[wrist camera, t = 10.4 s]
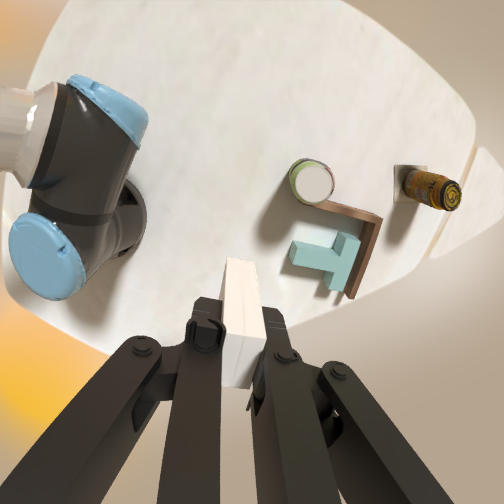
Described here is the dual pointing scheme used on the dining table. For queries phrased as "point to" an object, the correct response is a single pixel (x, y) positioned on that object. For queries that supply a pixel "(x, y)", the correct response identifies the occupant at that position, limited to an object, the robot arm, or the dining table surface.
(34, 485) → the robot arm
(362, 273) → the corner fence
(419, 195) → the condiment
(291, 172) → the beverage can
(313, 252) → the t block
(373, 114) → the dining table surface
